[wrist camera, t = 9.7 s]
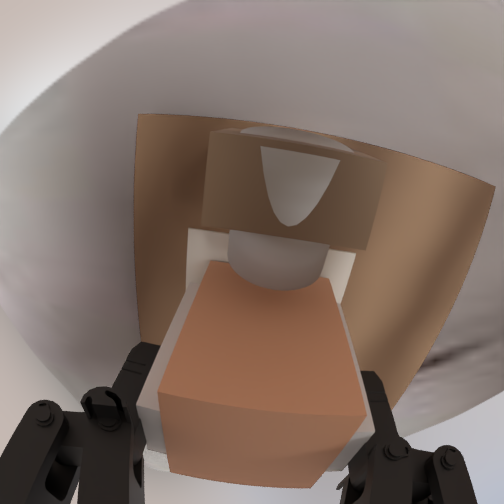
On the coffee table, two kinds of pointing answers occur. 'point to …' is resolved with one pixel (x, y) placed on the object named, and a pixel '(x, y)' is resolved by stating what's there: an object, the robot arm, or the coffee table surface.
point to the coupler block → (259, 384)
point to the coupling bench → (382, 271)
